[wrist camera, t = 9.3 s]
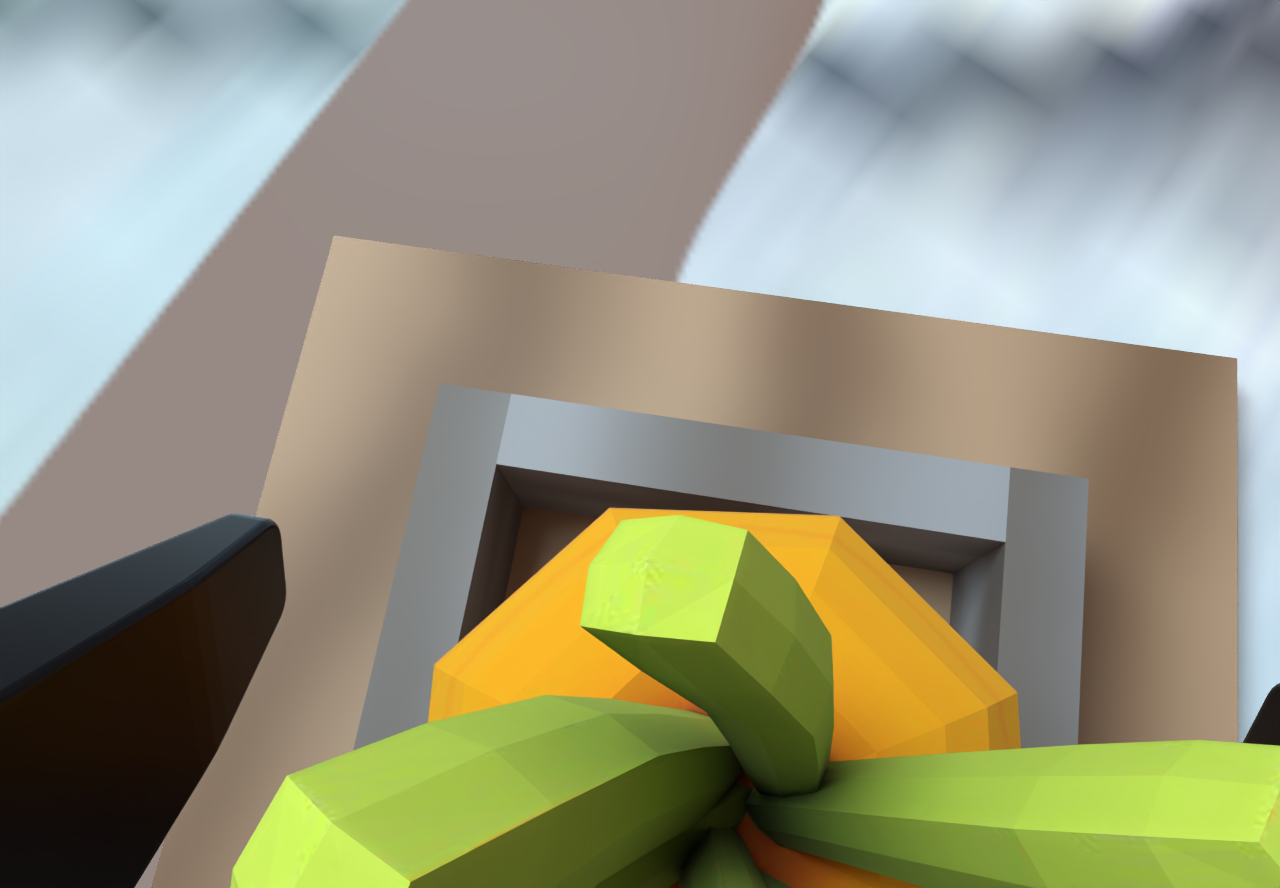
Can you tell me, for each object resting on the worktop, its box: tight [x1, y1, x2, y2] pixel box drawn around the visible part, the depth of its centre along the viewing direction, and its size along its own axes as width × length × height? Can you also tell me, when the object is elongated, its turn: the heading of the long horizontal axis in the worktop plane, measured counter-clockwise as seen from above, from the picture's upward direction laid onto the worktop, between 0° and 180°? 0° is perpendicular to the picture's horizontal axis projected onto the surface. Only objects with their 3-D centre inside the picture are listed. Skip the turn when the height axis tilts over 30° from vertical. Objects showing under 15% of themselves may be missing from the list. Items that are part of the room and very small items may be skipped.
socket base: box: [152, 236, 1238, 888], centre depth 16 cm, size 18×18×4 cm
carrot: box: [230, 508, 1280, 888], centre depth 10 cm, size 5×5×15 cm
